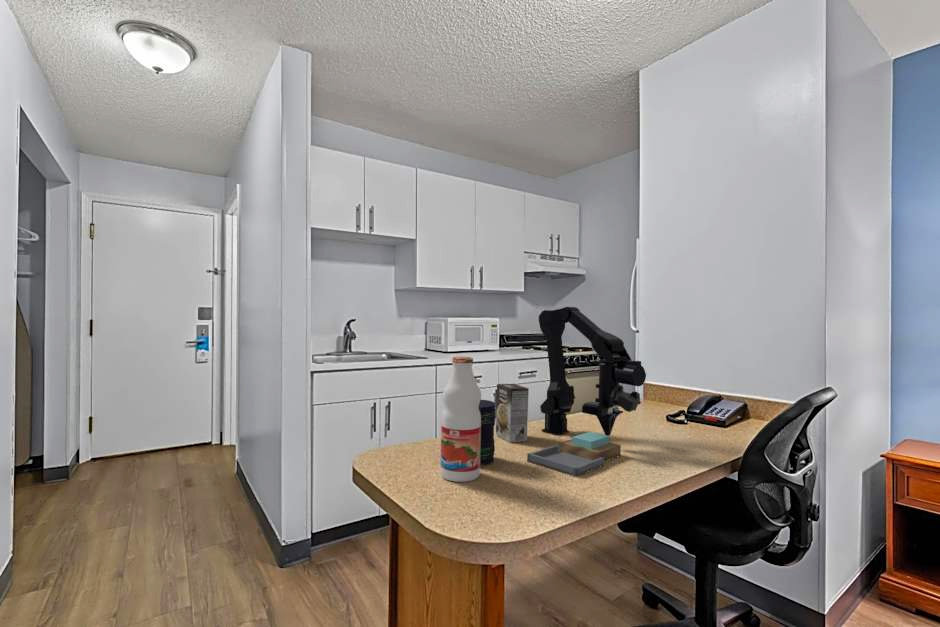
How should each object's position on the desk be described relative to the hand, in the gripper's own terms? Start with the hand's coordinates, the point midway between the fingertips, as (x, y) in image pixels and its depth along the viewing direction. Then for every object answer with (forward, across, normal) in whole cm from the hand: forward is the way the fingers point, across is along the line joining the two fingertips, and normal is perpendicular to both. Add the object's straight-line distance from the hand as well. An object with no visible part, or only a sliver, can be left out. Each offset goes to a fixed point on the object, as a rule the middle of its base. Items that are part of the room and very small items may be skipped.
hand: (607, 435), depth 140 cm
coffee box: (+4, -13, +25) cm, 29 cm away
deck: (+4, -9, 0) cm, 10 cm away
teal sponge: (+1, -9, 0) cm, 9 cm away
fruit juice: (+4, -47, +11) cm, 49 cm away
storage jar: (+4, -36, +17) cm, 40 cm away
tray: (+4, -21, 0) cm, 21 cm away
